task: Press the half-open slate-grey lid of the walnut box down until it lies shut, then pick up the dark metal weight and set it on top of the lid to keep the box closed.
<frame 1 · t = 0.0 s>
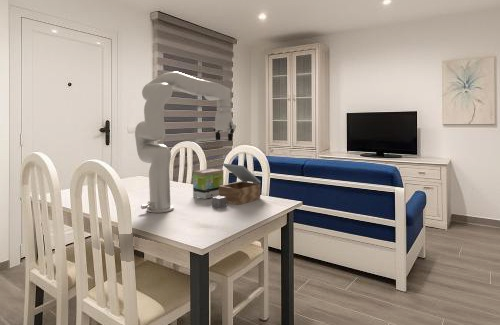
hand: (224, 140, 198), 31 cm above the table, tool pointing down, fingers open, 9 cm apart
box: (239, 199, 188), on the table
weight: (219, 206, 173), on the table
lid: (242, 173, 188), point 14 cm above the table, hinge at 35.0°
tea box: (208, 196, 198), on the table
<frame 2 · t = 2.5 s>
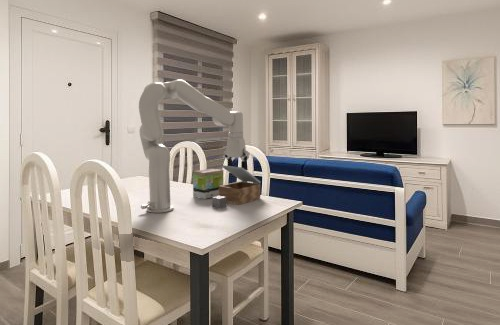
hand: (236, 167, 184), 18 cm above the table, tool pointing down, fingers open, 9 cm apart
lid: (241, 174, 188), point 14 cm above the table, hinge at 31.7°, touching gripper
everything else where it was.
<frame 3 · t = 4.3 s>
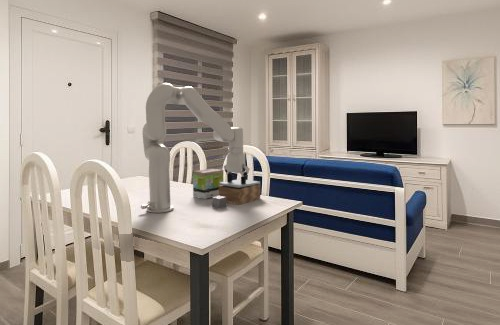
hand: (236, 182, 185), 10 cm above the table, tool pointing down
lid: (239, 183, 187), point 9 cm above the table, hinge at 1.5°, touching gripper
everything else where it was.
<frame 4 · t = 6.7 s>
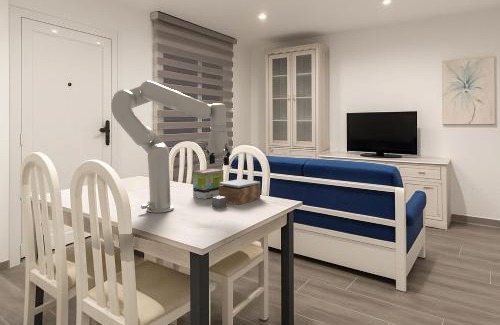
hand: (219, 164, 170), 21 cm above the table, tool pointing down, fingers open, 9 cm apart
lid: (239, 183, 187), point 9 cm above the table, hinge at 1.5°
everything else where it was.
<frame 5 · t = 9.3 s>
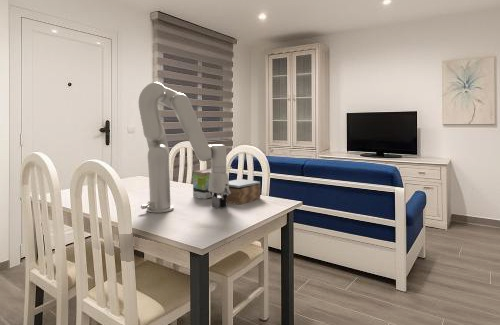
hand: (219, 205, 173), 1 cm above the table, tool pointing down, fingers closed on weight, 5 cm apart
weight: (219, 206, 173), on the table, touching gripper
everything else where it was.
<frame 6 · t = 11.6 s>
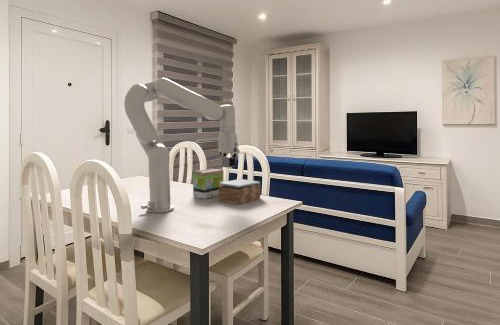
hand: (228, 165, 177), 20 cm above the table, tool pointing down, fingers closed on weight, 5 cm apart
weight: (228, 166, 177), point 19 cm above the table, touching gripper
everything else where it was.
when the fingers open (11 cm above the table, at t = 14.2 s): weight stays where it is, resting on lid.
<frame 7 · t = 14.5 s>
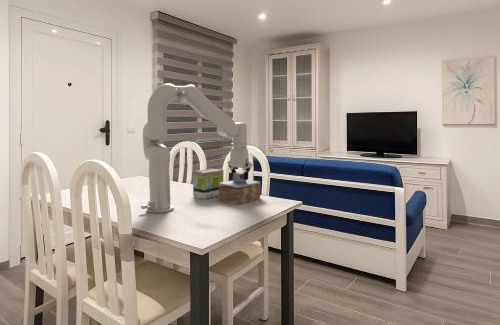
hand: (239, 178, 187), 12 cm above the table, tool pointing down, fingers open, 8 cm apart
weight: (239, 182, 187), point 9 cm above the table, touching lid
lid: (239, 183, 187), point 9 cm above the table, hinge at 1.0°, touching weight
everything else where it was.
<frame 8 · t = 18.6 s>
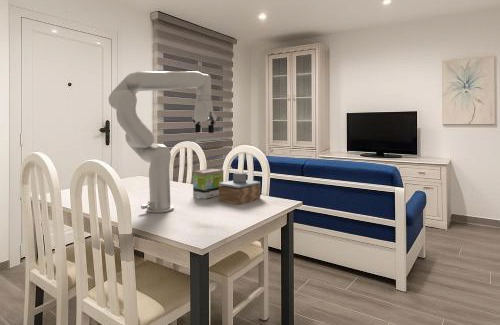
hand: (204, 132, 180), 36 cm above the table, tool pointing down, fingers open, 9 cm apart
nothing on the table moved.
at the end: lid at +1° (first picture: +35°); weight inside the target area on the box (0.1 cm from its centre), point 9.5 cm above the box's base; weight tilted 1° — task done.
